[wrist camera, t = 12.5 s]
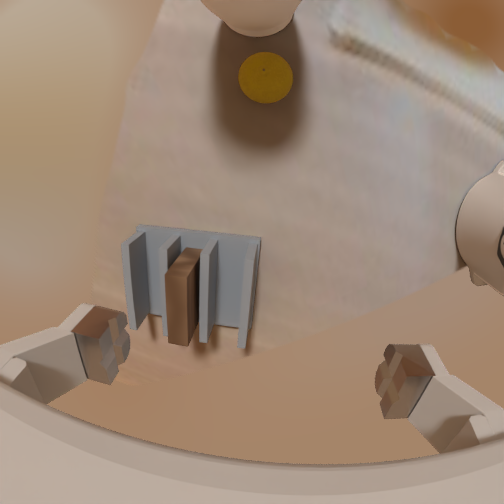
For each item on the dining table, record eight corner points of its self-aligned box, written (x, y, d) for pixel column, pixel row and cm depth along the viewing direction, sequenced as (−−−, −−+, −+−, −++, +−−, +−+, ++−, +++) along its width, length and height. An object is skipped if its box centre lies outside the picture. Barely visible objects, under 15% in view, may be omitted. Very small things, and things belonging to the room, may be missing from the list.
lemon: (297, 100, 32) (302, 90, 25) (250, 111, 33) (241, 105, 26) (284, 57, 30) (284, 36, 23) (237, 69, 31) (225, 52, 24)
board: (204, 249, 39) (186, 277, 31) (203, 310, 42) (188, 346, 34) (185, 247, 39) (164, 274, 31) (186, 308, 42) (168, 343, 35)
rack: (261, 237, 38) (257, 255, 33) (251, 325, 43) (247, 351, 38) (139, 224, 39) (118, 239, 34) (144, 308, 44) (128, 331, 38)
